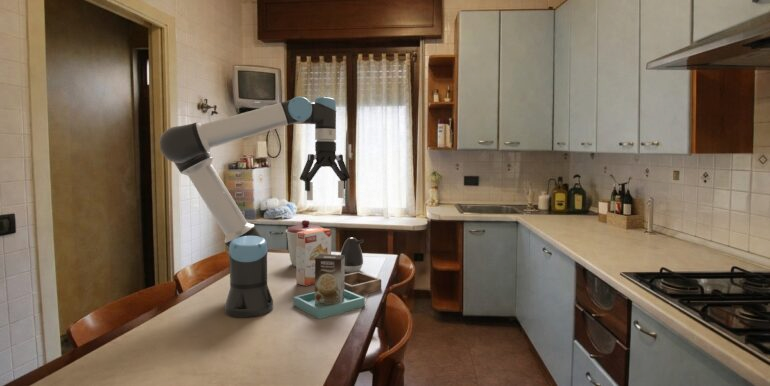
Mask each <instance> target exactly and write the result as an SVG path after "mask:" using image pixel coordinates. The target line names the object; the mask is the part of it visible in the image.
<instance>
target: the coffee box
mask: <svg viewBox="0 0 770 386" xmlns="http://www.w3.org/2000/svg"><path fill="white" fill-rule="evenodd" d="M344 270H345V255H341V254H332V253H331V254H319V255H318V256H317V257H316V258H315V284H314V292H315V305H327V306H331V305H334V304H338V303H342V302H343V301H344V275H345V271H344Z"/></svg>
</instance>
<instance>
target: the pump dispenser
mask: <svg viewBox="0 0 770 386" xmlns="http://www.w3.org/2000/svg"><path fill="white" fill-rule="evenodd" d="M362 243H364V239H360V240H358V239H357V238H356V237H353V236H352V237H351V236H349V237H347V239H346V240H345V241H344V243H343V246H342V248H341V251H340V255H345V270H344V273H347V274H351V273H355V272H360V271H361V269H362V267H363V265H364V256H363V251H362V249H361V245H360V244H362Z"/></svg>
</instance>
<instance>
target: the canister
mask: <svg viewBox="0 0 770 386" xmlns="http://www.w3.org/2000/svg"><path fill="white" fill-rule="evenodd" d="M320 228H323V227H322V226H321V225H316V224H310V221H309V220H307V219H304V220H302V221H301V224H298V225H293V226H290V227H288V228H287V229H285V233H286V235H287V236H286V237H287V243H288V244H287V245H288V253H289V258H290V259H289V260H290V263H291V264H292V265H293V266H294V267H296V233H297V232H301V231H307V230H314V229H320Z"/></svg>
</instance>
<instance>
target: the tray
mask: <svg viewBox="0 0 770 386" xmlns="http://www.w3.org/2000/svg"><path fill="white" fill-rule="evenodd" d="M293 306H294V307H296V308H298V309H300V310H302V311H303V312H306V313H307V314H309V315H311V316H313V317H315V318H316V319H318V320H321V319H325V318H328V317H333V316H336V315H339V314H342V313H345V312H349V311H352V310H357V309H360V308H363V307H365V306H366V297H364V296H363V295H357V294H355V293H352V292H350V291H347V290H345V289H344V301H343V302H342V303H338V304H334V305H331V306H327V305H315V291H312V292H309V293H304V294H299V295H296V296H295V295H294V296H293Z"/></svg>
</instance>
